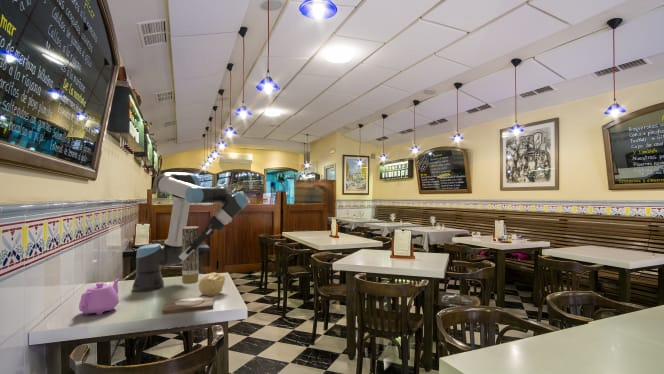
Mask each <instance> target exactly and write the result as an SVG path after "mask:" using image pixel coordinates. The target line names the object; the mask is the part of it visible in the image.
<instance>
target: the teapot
mask: <svg viewBox="0 0 664 374" xmlns="http://www.w3.org/2000/svg"><path fill="white" fill-rule="evenodd" d="M119 281H120V277H118V278H116V279H115V280H114V281H113V284H112V285H110V284H105V282H97V283H95V286H91V287H88V288H87V289H86V290H85V292H83V293H82V294H81V296H80V301H79V303H78V304H79V305H78V309H79V311H80V312H82V313H84V315H90V314H95V315H96V316H101V315H103V314H104V313H103V312H107V311H113V310H114V309H115V308H116V307H117V305H118V304H119V302H120V299H119V286H118V285H119Z"/></svg>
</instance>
